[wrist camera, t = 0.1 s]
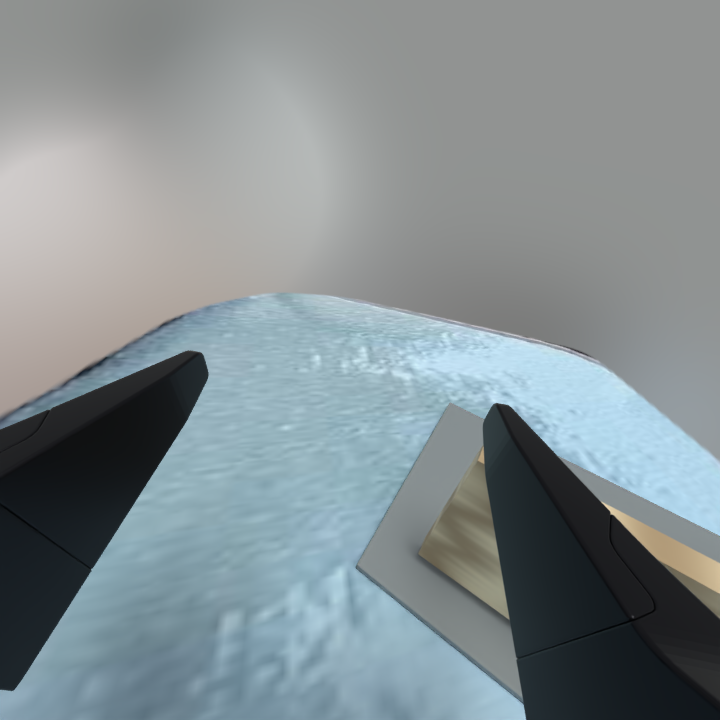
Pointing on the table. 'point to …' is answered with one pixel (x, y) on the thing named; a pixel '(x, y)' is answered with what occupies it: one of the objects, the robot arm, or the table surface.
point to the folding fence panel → (481, 560)
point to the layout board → (443, 594)
